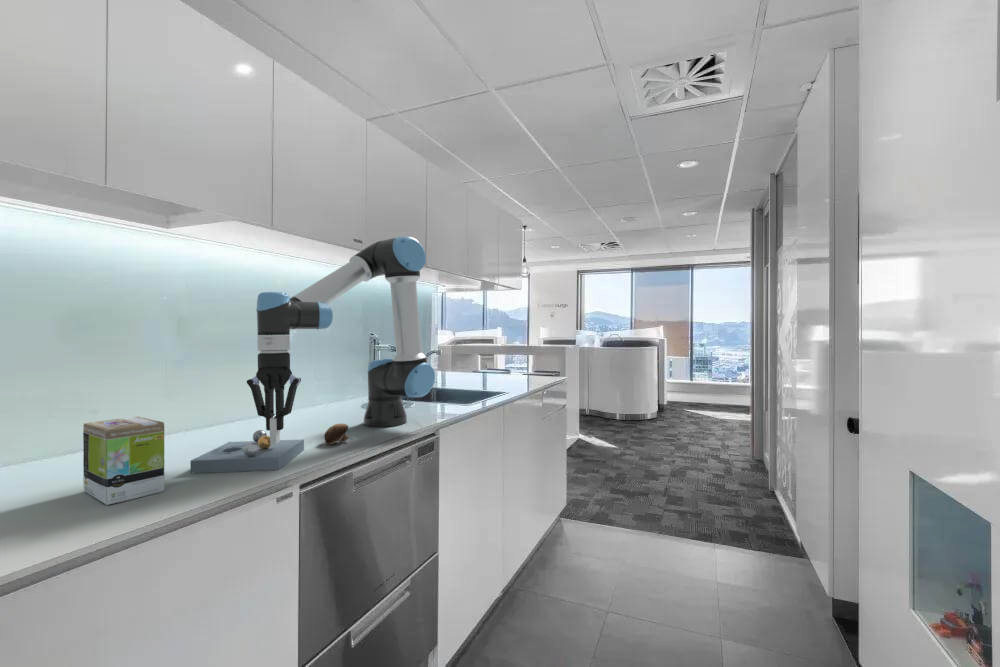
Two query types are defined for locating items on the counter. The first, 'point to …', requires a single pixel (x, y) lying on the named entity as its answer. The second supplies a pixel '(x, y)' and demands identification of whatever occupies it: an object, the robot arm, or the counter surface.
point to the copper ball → (264, 442)
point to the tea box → (123, 458)
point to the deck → (247, 457)
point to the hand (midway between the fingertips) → (275, 442)
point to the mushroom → (336, 434)
